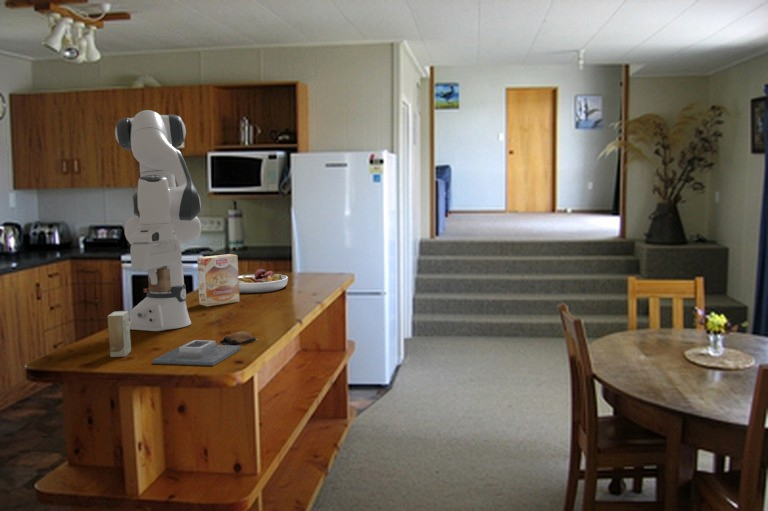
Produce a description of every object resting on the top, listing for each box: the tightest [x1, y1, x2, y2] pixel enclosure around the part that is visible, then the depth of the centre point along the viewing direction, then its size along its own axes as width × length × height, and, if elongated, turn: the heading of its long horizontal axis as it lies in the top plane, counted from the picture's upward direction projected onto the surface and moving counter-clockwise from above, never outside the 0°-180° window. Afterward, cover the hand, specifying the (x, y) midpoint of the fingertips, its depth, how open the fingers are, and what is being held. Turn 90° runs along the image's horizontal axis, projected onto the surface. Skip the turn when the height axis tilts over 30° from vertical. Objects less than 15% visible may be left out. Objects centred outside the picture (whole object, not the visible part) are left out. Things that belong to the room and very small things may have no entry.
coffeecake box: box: [196, 253, 240, 307], centre depth 274 cm, size 15×7×20 cm, turn 131°
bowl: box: [238, 268, 289, 294], centre depth 311 cm, size 30×30×8 cm
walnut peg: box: [147, 269, 171, 291], centre depth 188 cm, size 5×3×6 cm, turn 77°
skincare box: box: [107, 310, 132, 358], centre depth 194 cm, size 6×4×12 cm
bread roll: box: [219, 330, 260, 346], centre depth 207 cm, size 11×8×4 cm
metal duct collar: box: [152, 339, 242, 367], centre depth 191 cm, size 18×18×4 cm
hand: (159, 282), depth 188 cm, fingers closed on walnut peg, 3 cm apart
